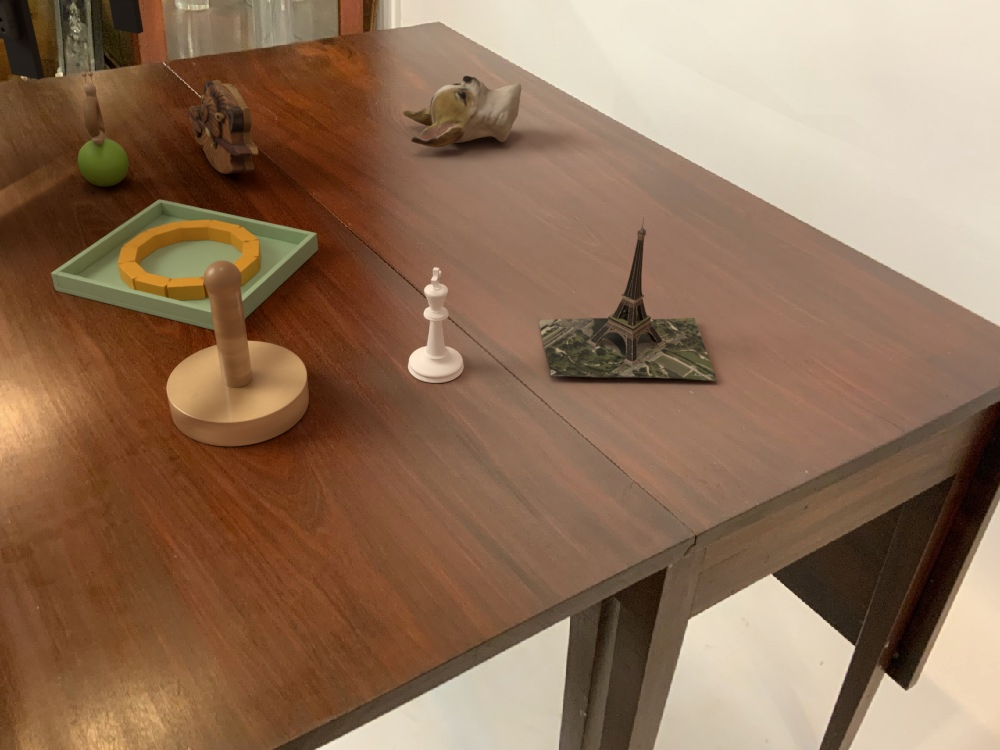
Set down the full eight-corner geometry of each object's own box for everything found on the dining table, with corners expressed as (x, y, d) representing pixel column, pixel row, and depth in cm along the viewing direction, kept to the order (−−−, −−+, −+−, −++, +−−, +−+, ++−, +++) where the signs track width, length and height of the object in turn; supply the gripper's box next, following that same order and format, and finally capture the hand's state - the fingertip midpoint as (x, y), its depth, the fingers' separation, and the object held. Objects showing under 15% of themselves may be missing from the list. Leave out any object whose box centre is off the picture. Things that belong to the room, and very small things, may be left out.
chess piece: (469, 355, 88) (471, 258, 82) (456, 387, 84) (457, 288, 78) (416, 347, 89) (415, 250, 83) (401, 378, 85) (398, 279, 79)
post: (142, 426, 78) (109, 283, 70) (219, 352, 87) (198, 217, 79) (265, 461, 75) (245, 316, 67) (332, 381, 84) (322, 244, 76)
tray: (55, 290, 94) (50, 272, 93) (162, 215, 107) (159, 198, 106) (229, 334, 89) (226, 315, 88) (318, 249, 102) (317, 232, 101)
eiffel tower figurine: (547, 383, 85) (559, 248, 77) (538, 319, 93) (548, 192, 85) (716, 384, 86) (745, 251, 78) (693, 321, 94) (716, 195, 86)
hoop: (92, 283, 94) (89, 268, 93) (174, 223, 104) (172, 210, 104) (212, 312, 91) (210, 298, 90) (285, 248, 101) (283, 234, 100)
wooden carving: (179, 148, 121) (166, 69, 115) (213, 140, 124) (202, 62, 118) (239, 198, 111) (228, 113, 105) (275, 188, 113) (267, 105, 108)
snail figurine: (132, 168, 116) (112, 69, 109) (133, 192, 111) (112, 89, 104) (83, 173, 115) (60, 72, 107) (82, 196, 110) (58, 93, 103)
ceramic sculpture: (529, 86, 119) (407, 96, 117) (529, 152, 124) (413, 163, 122) (513, 58, 127) (399, 67, 125) (513, 121, 132) (404, 131, 130)
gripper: (-59, -206, 64) (17, 106, 77) (165, -233, 83) (197, 20, 96) (-150, -218, 65) (-60, 89, 78) (91, -241, 85) (131, 8, 97)
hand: (81, 52), depth 87 cm, fingers open, 13 cm apart
